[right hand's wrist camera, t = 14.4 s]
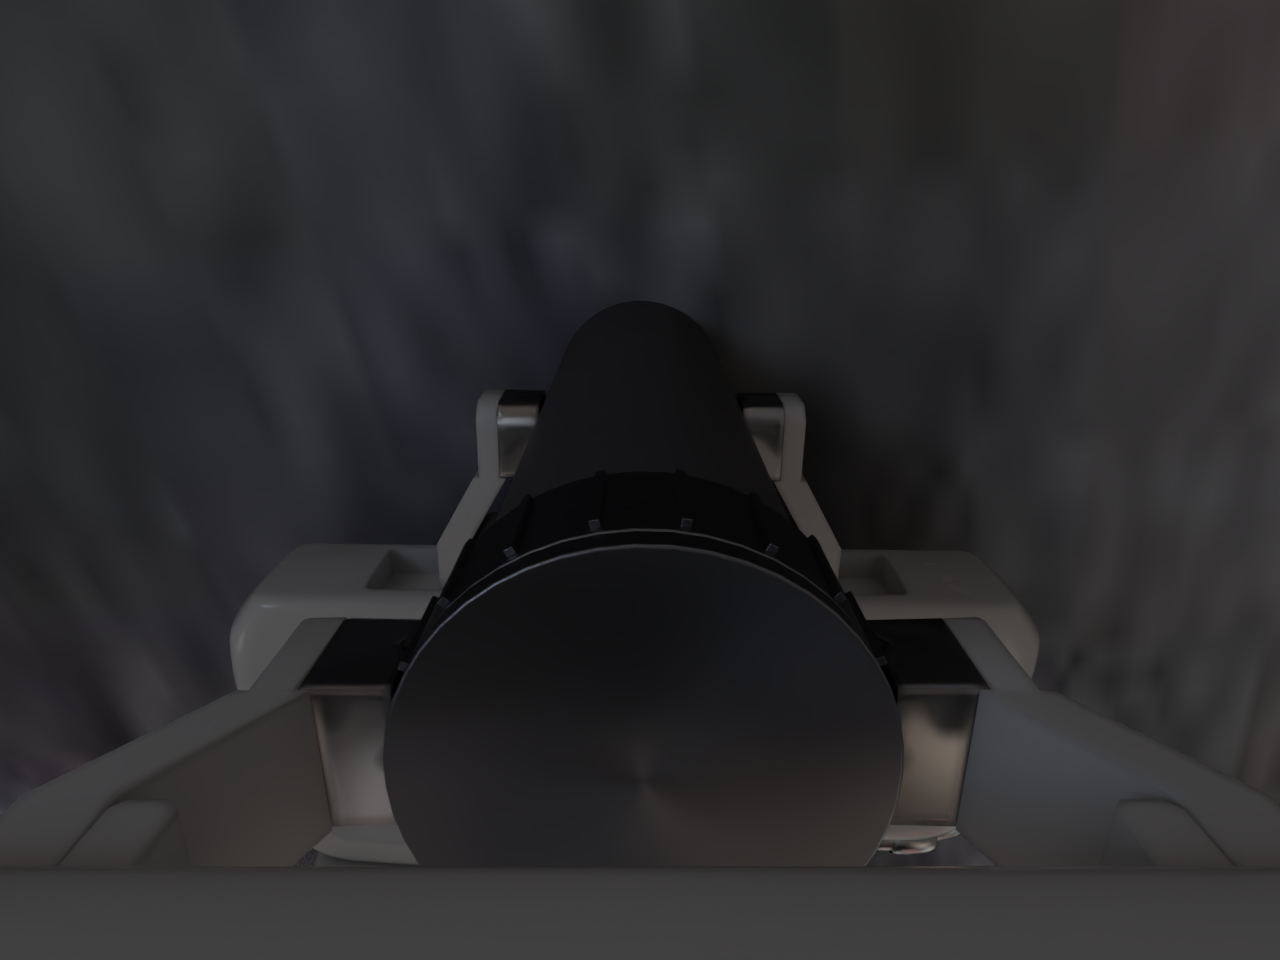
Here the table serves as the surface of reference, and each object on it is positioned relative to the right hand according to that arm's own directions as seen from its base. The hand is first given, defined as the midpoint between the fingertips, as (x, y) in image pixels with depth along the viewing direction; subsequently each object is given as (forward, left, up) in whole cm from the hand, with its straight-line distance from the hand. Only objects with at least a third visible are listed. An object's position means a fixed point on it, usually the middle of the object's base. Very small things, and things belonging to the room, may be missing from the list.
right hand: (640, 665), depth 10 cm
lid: (0, 0, +2) cm, 2 cm away
